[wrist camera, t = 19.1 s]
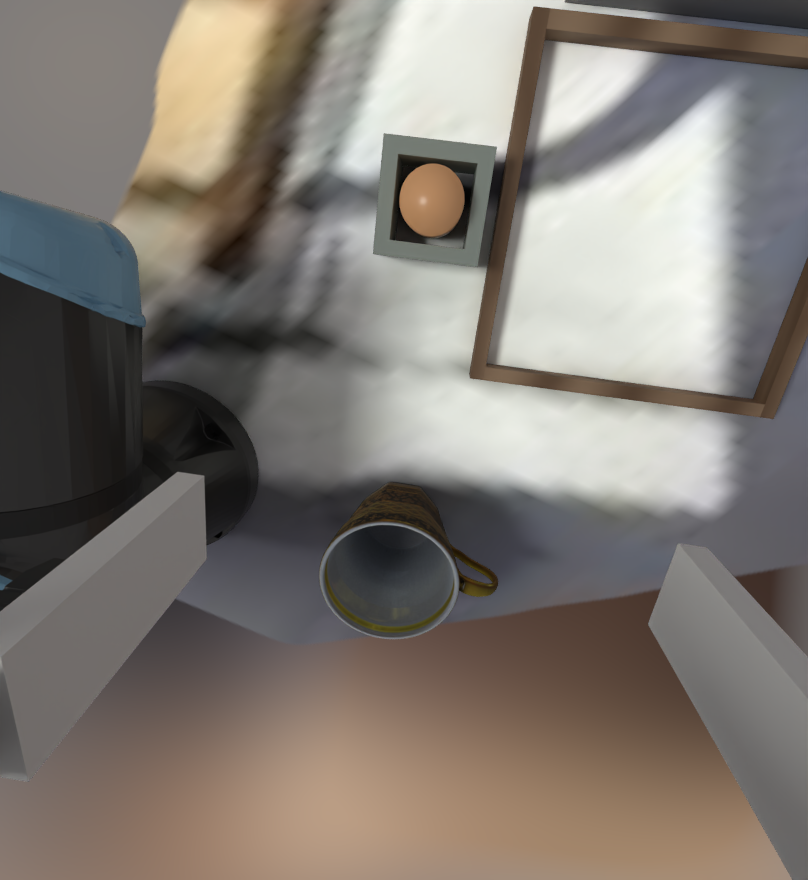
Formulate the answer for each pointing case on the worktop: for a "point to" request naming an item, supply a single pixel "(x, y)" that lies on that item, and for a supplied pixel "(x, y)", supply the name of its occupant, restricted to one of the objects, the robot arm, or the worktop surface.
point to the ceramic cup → (396, 566)
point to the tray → (721, 9)
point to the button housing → (415, 155)
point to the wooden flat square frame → (544, 24)
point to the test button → (432, 200)
